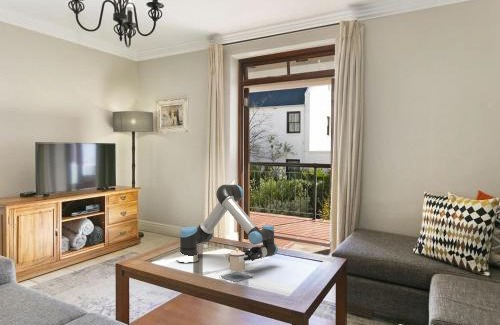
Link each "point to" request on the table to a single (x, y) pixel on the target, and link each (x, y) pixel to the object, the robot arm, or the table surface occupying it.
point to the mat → (236, 276)
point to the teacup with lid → (236, 260)
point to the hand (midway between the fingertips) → (231, 258)
